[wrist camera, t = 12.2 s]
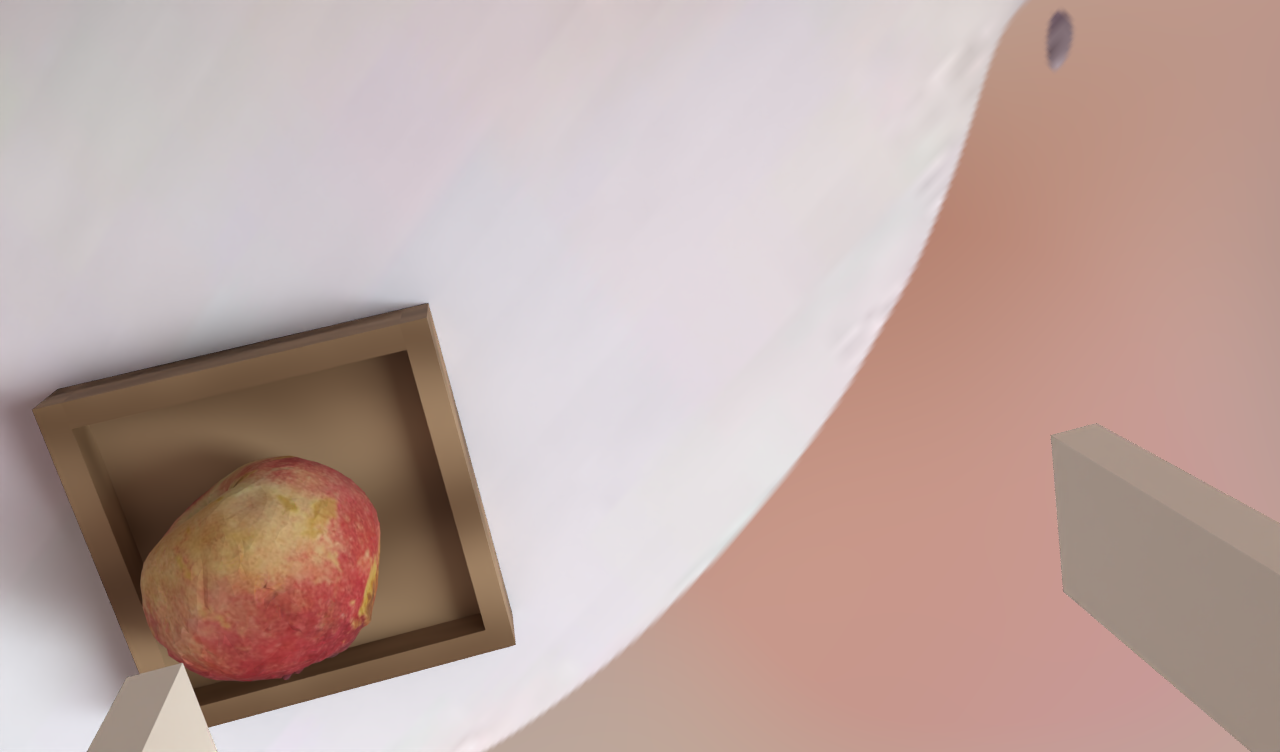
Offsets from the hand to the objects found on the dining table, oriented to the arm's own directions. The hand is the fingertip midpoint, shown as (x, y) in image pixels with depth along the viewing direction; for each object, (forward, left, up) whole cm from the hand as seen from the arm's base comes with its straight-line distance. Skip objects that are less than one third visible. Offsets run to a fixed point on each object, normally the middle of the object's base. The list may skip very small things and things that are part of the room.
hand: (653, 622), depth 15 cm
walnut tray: (+7, -11, -27) cm, 30 cm away
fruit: (+7, -11, -26) cm, 29 cm away
